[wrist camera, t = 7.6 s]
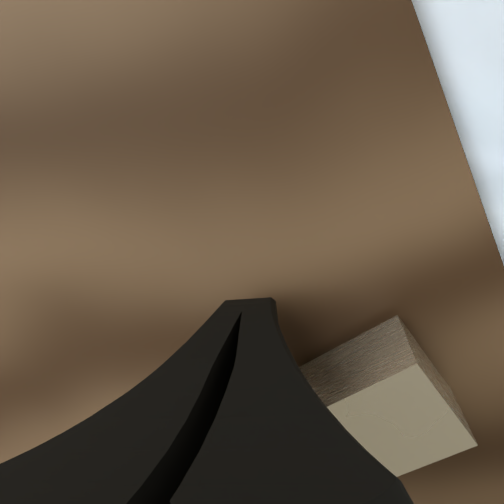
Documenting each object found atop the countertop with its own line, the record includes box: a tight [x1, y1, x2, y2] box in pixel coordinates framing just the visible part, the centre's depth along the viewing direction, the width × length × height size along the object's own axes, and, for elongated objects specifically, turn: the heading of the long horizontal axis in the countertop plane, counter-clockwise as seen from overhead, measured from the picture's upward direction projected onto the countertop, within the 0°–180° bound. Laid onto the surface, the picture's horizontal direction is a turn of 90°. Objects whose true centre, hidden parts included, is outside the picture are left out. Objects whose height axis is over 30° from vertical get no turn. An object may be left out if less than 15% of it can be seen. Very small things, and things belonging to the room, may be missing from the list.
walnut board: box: [0, 0, 504, 504], centre depth 13 cm, size 21×21×1 cm
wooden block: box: [299, 315, 478, 477], centre depth 12 cm, size 15×4×3 cm, turn 128°
